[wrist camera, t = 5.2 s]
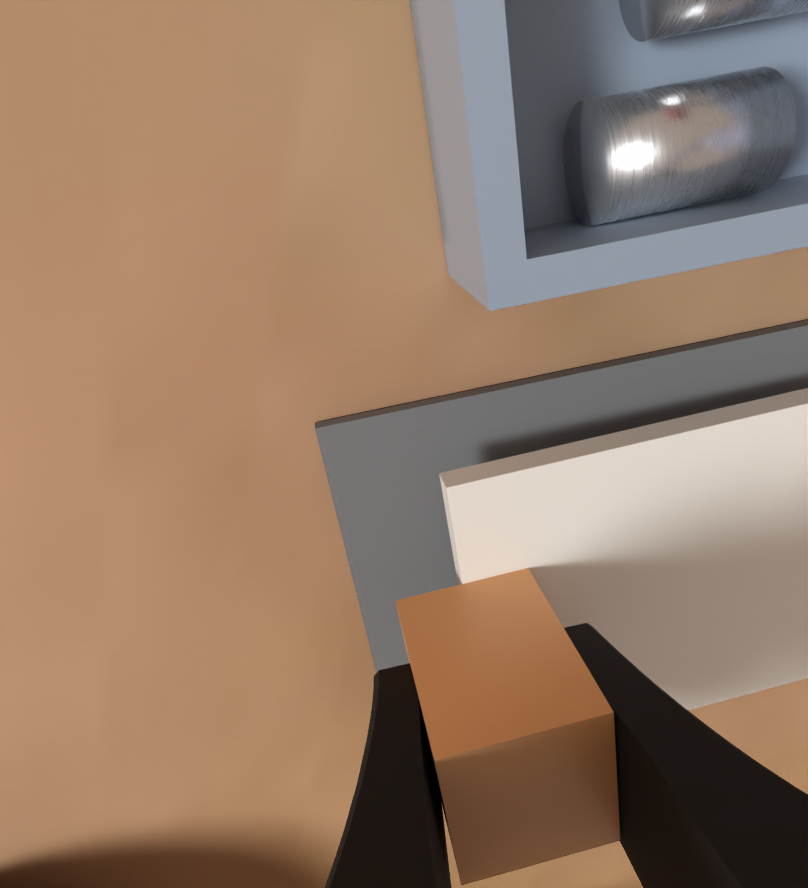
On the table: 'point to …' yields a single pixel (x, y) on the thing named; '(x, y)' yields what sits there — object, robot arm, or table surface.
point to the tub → (542, 144)
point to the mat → (513, 449)
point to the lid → (603, 612)
